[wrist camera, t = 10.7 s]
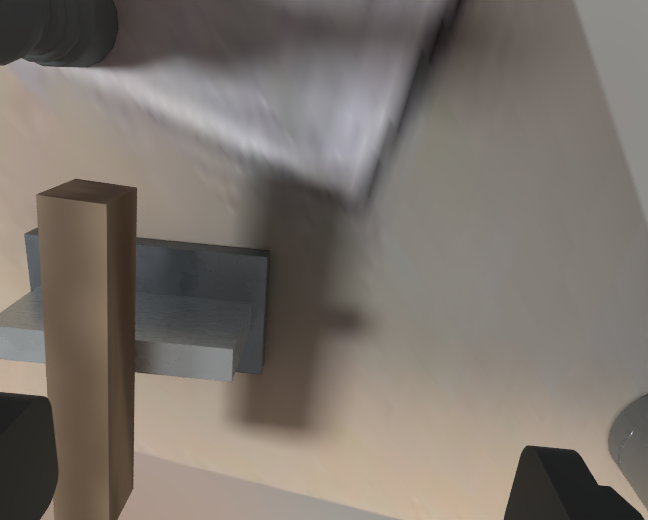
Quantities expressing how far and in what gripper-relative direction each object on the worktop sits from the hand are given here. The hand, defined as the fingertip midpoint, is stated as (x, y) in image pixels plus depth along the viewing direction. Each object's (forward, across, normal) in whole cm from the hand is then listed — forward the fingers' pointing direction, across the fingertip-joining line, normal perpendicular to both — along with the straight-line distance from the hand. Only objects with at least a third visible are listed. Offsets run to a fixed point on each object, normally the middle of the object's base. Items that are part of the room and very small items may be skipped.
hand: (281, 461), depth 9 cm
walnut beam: (+22, +13, +12) cm, 28 cm away
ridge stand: (+30, +13, +12) cm, 35 cm away
